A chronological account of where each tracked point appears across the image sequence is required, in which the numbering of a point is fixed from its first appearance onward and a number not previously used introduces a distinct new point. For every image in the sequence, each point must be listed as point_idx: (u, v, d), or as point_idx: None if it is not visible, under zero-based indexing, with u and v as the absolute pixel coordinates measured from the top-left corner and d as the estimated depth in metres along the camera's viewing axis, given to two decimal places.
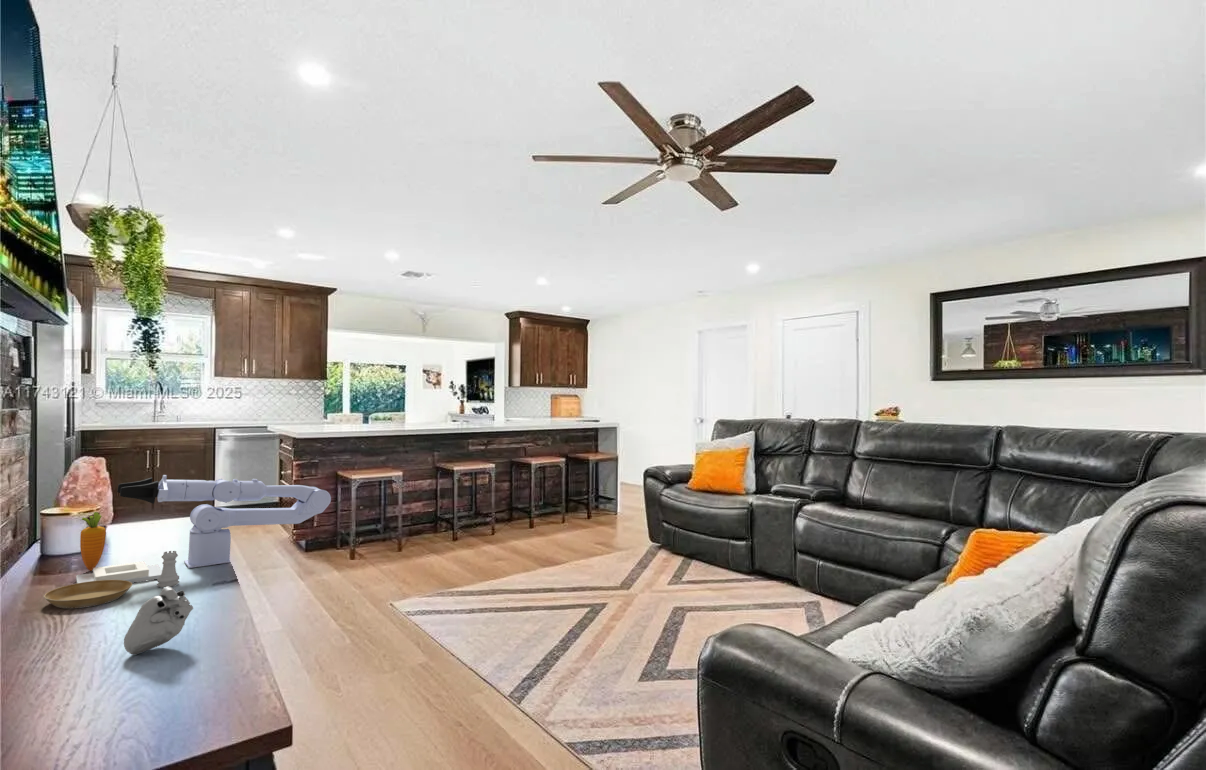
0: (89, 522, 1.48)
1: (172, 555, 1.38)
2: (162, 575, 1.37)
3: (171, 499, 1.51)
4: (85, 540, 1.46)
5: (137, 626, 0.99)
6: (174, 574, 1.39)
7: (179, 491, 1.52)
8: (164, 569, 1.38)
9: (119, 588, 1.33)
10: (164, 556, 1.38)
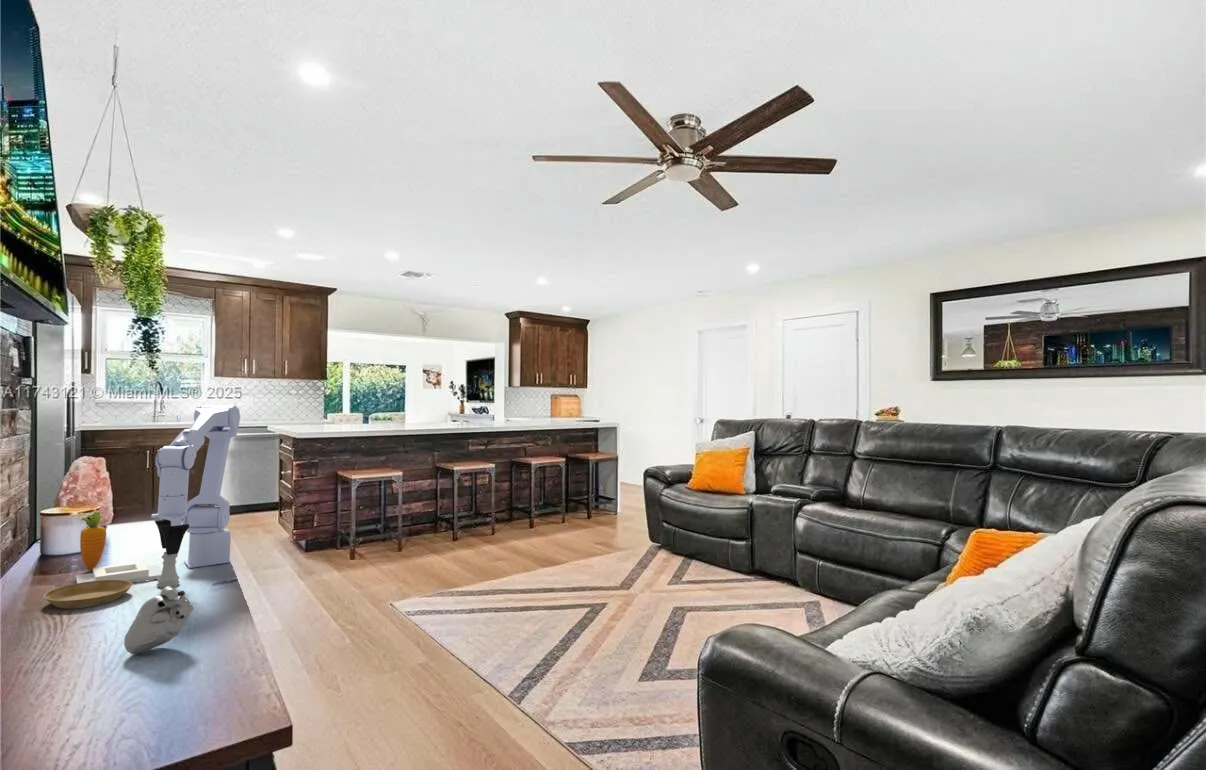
0: (89, 522, 1.48)
1: (172, 555, 1.38)
2: (162, 575, 1.37)
3: (185, 506, 1.40)
4: (85, 540, 1.46)
5: (137, 626, 0.99)
6: (174, 574, 1.39)
7: (174, 501, 1.37)
8: (164, 569, 1.38)
9: (119, 588, 1.33)
10: (164, 556, 1.38)
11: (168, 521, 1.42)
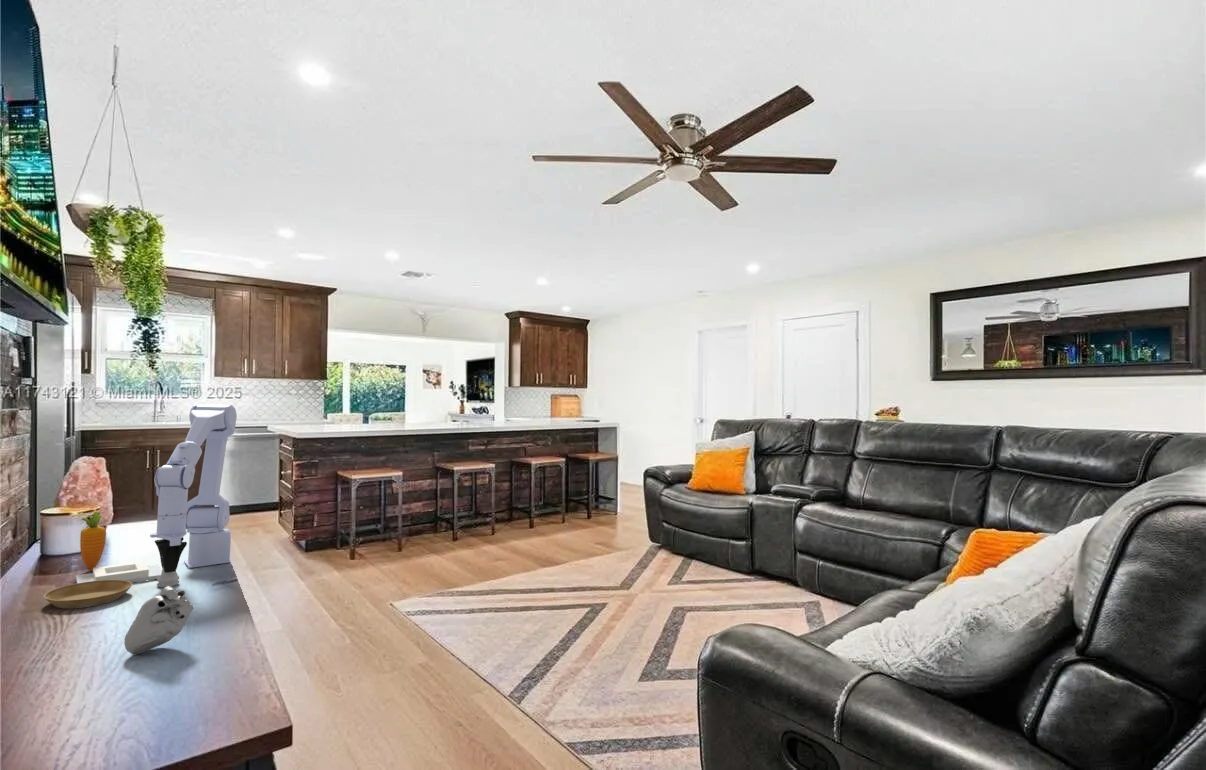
0: (89, 522, 1.48)
1: None
2: (162, 575, 1.37)
3: (183, 525, 1.40)
4: (85, 540, 1.46)
5: (137, 626, 0.99)
6: (174, 574, 1.39)
7: (172, 521, 1.37)
8: None
9: (119, 588, 1.33)
10: None
11: None
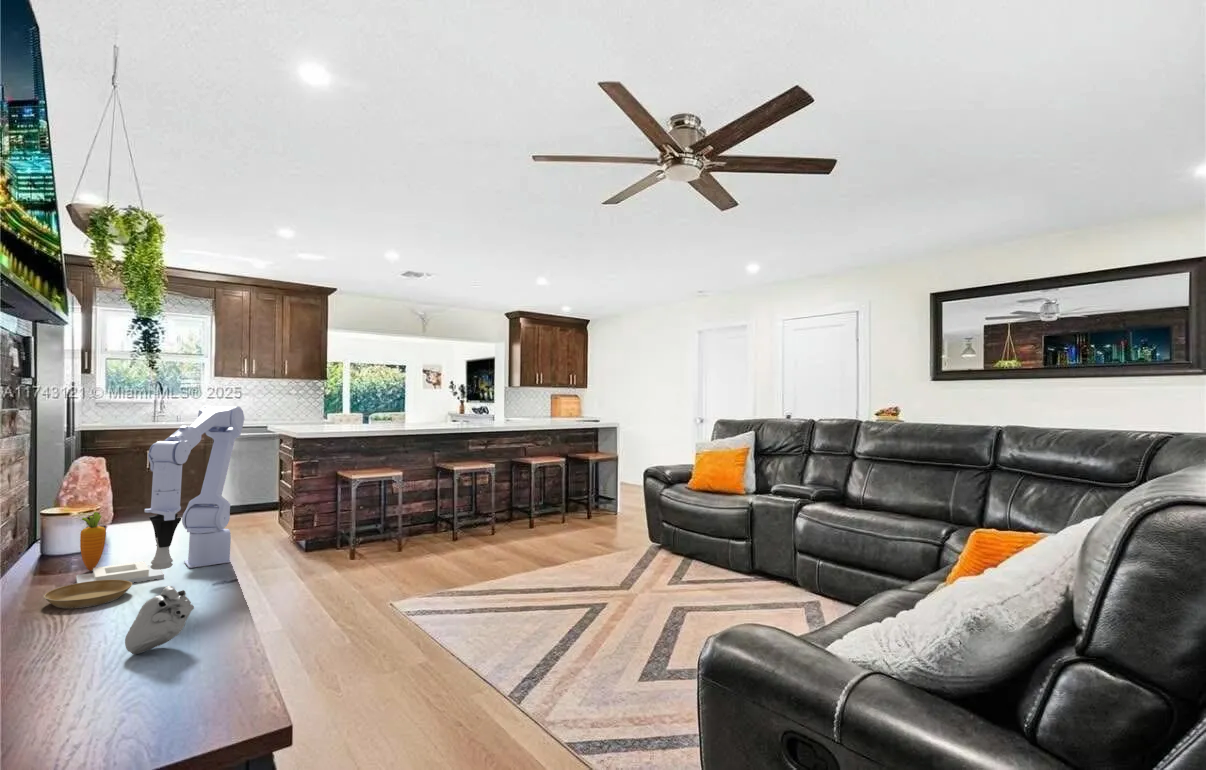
0: (89, 522, 1.48)
1: None
2: (156, 557, 1.38)
3: (178, 500, 1.40)
4: (85, 540, 1.46)
5: (138, 625, 1.00)
6: (168, 557, 1.39)
7: (167, 496, 1.38)
8: (158, 551, 1.38)
9: (119, 588, 1.33)
10: None
11: None
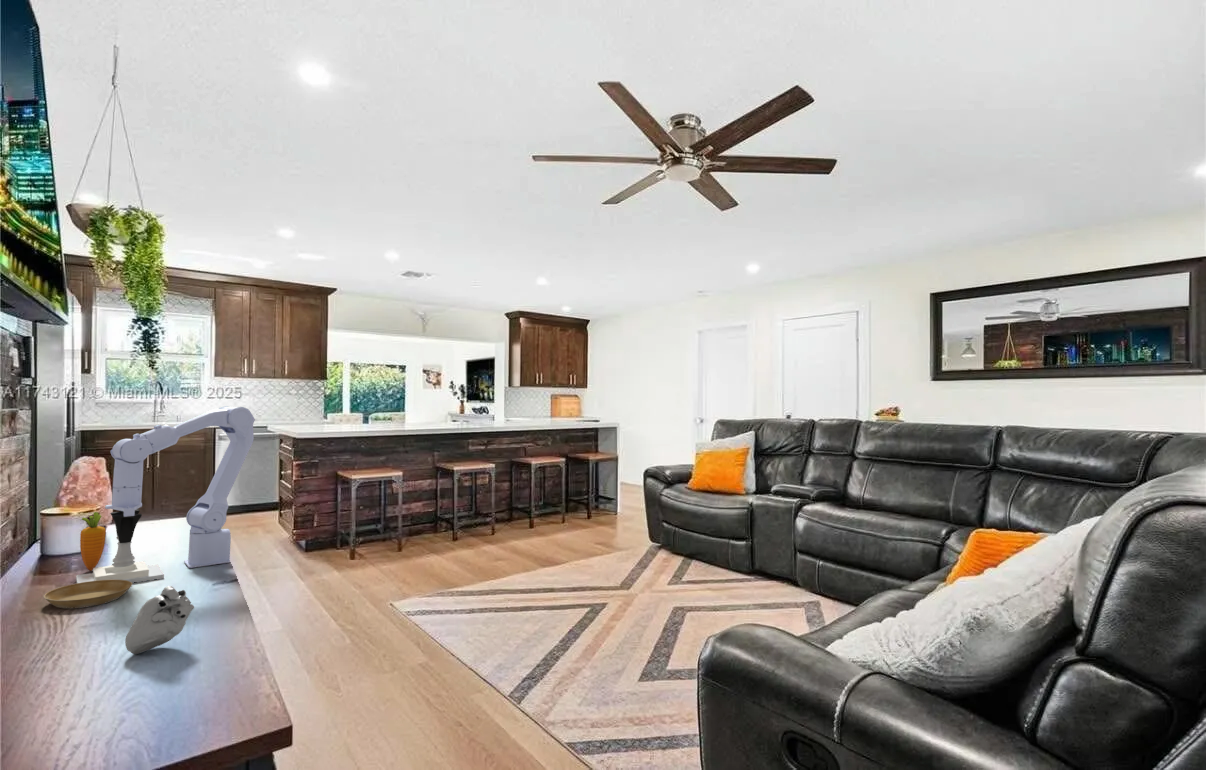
0: (89, 522, 1.48)
1: None
2: (118, 555, 1.41)
3: (139, 497, 1.43)
4: (85, 540, 1.46)
5: (138, 625, 1.00)
6: (129, 554, 1.43)
7: (127, 493, 1.41)
8: (119, 549, 1.41)
9: (119, 588, 1.33)
10: None
11: None
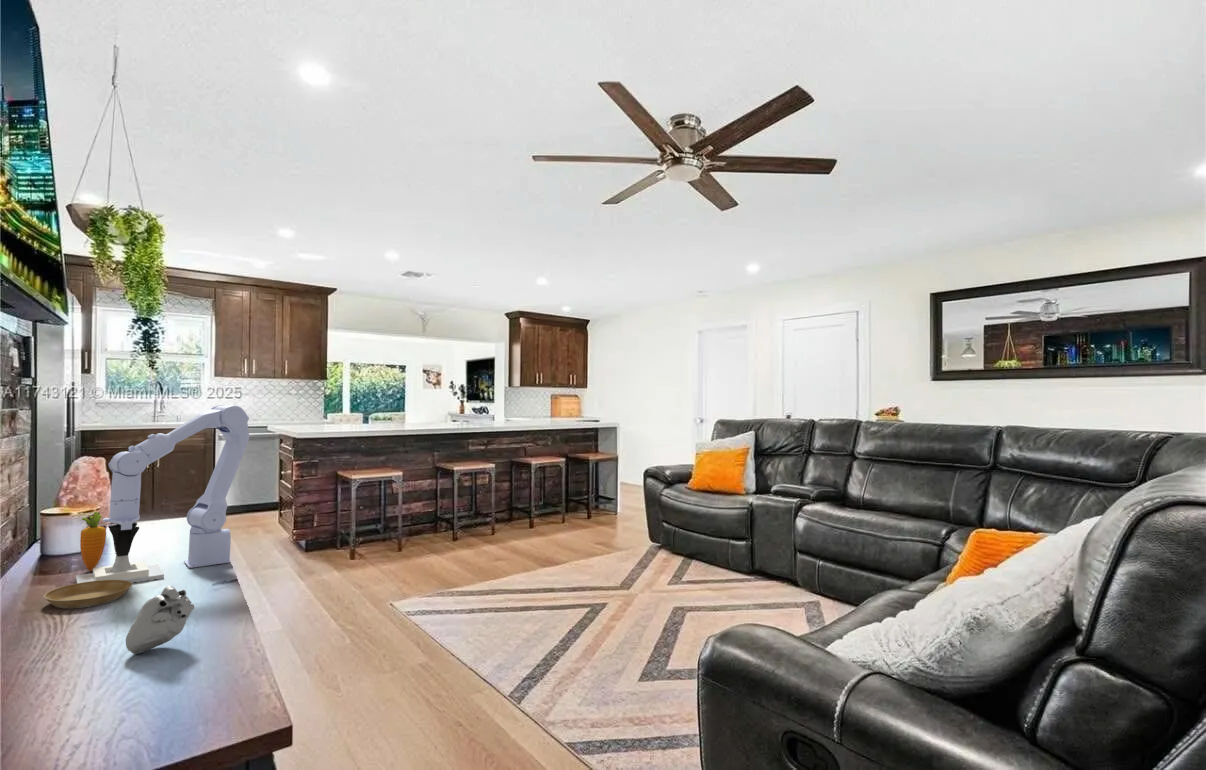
0: (89, 522, 1.48)
1: None
2: (115, 565, 1.41)
3: (136, 510, 1.43)
4: (85, 540, 1.46)
5: (138, 625, 1.00)
6: (127, 564, 1.42)
7: (125, 506, 1.41)
8: (117, 559, 1.41)
9: (119, 588, 1.33)
10: None
11: None
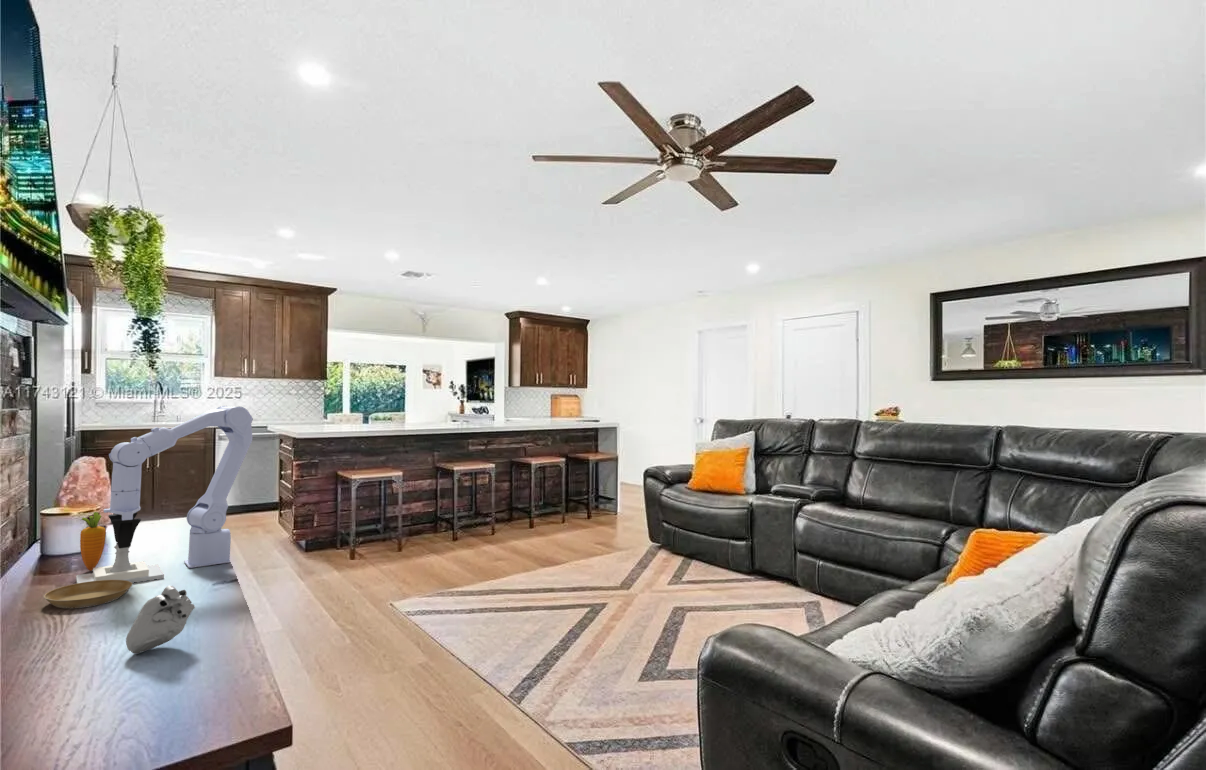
0: (89, 522, 1.48)
1: None
2: (115, 565, 1.41)
3: (137, 501, 1.43)
4: (85, 540, 1.46)
5: (139, 625, 1.00)
6: (127, 564, 1.42)
7: (125, 497, 1.41)
8: (117, 559, 1.41)
9: (119, 588, 1.33)
10: (117, 546, 1.41)
11: (122, 516, 1.46)
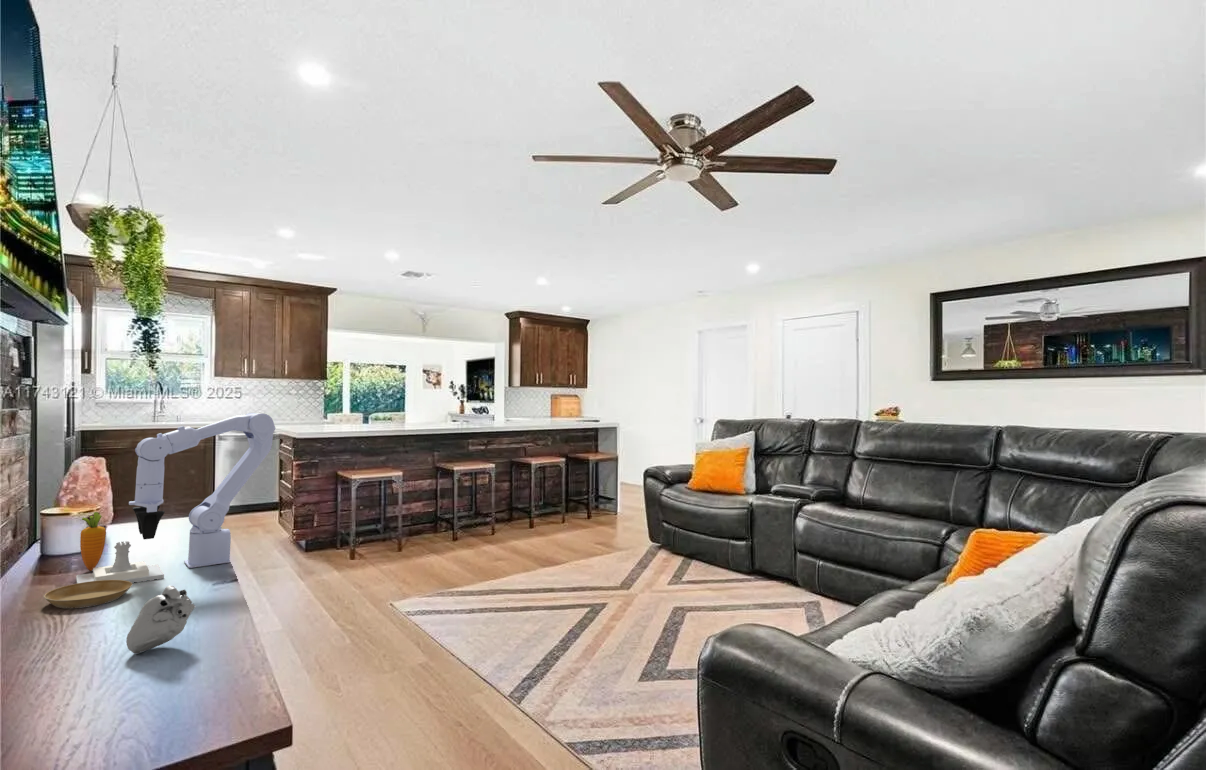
0: (89, 522, 1.48)
1: (125, 545, 1.42)
2: (115, 565, 1.41)
3: (160, 494, 1.49)
4: (85, 540, 1.46)
5: (139, 625, 1.00)
6: (127, 564, 1.42)
7: (150, 490, 1.47)
8: (117, 559, 1.41)
9: (119, 589, 1.33)
10: (117, 546, 1.41)
11: (145, 508, 1.51)
